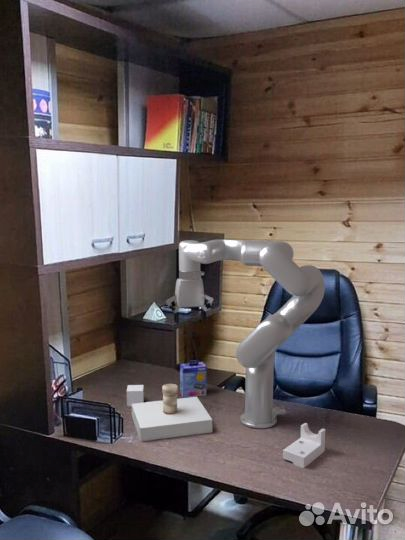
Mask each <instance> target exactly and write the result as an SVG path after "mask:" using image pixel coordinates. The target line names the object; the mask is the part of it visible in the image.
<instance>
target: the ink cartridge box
mask: <svg viewBox="0 0 405 540" xmlns="http://www.w3.org/2000/svg"><path fill="white" fill-rule="evenodd" d="M207 371H208V366H207V365H206V364H205V363H204V361H200V360H199V359H196V360H189V362H188V363H187V362H186V363H181V364H179V393H180V395H181V398H189V397H202V396H207V378H208V376H207V374H208V373H207Z"/></svg>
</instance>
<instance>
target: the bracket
mask: <svg viewBox="0 0 405 540" xmlns="http://www.w3.org/2000/svg"><path fill="white" fill-rule="evenodd" d="M299 436H300V438H297V440H295V441H293V442H292V443H291V444H290V445H288V446H286V447H285V448H284V449H282V459H284V460H285V461H288V462H289V461H290V462H292V465H294V466H297V467H299V468H302V469H305V468H306V467H307V466H308V465H310V464H311V463H312V462H313V461H315V460H316V459H317V458H318V457H319V456H321V455H322V454H323V453H324V452H325V451H326V450H325V446H326V428H321V429H320V430H318V433H317V434H316V433H314V432H312V431H311V430H310V428H309V424H308V423H307V422H304V423H302V424H301V425H300V435H299Z"/></svg>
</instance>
